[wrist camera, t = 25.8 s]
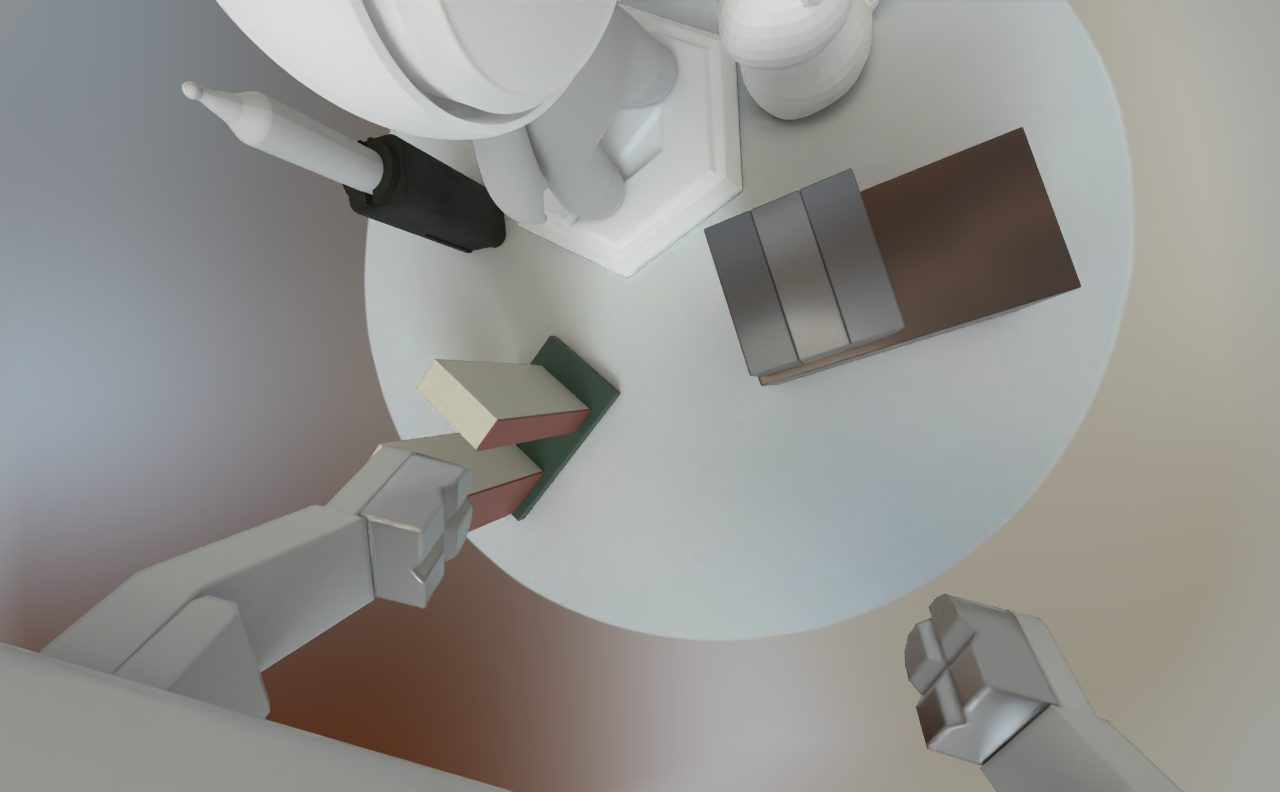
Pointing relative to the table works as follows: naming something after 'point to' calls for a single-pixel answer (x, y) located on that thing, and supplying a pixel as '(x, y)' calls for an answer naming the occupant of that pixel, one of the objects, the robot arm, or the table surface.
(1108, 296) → the table surface
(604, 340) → the table surface
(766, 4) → the cat figurine
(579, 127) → the white toy figurine
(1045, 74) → the table surface
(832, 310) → the grey stand
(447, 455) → the green book holder
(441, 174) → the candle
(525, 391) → the white book
